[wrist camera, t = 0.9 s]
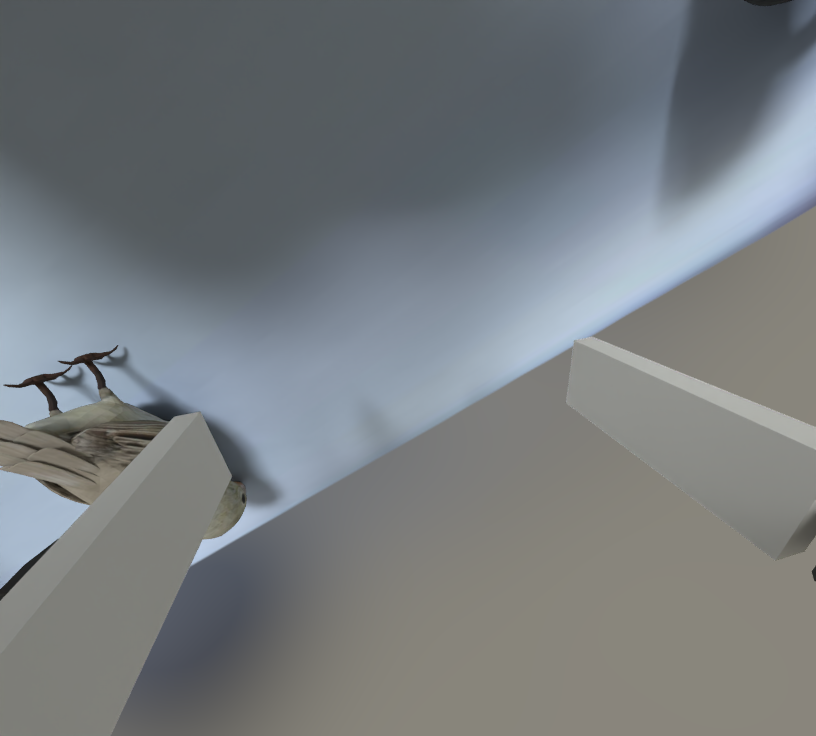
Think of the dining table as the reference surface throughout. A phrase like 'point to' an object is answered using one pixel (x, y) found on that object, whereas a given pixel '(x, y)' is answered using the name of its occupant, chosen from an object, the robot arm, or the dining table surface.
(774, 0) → the milk frother
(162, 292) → the dining table surface
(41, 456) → the decorative bird
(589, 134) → the dining table surface
